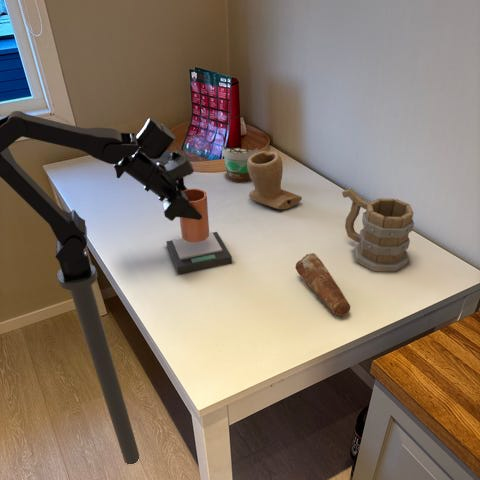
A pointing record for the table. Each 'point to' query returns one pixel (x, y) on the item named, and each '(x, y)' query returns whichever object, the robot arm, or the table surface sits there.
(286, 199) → the clay pipe bowl
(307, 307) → the table surface
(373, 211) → the tankard
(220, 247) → the kitchen scale
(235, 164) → the food container
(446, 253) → the table surface
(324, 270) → the brown tapered rod
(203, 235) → the tumbler
